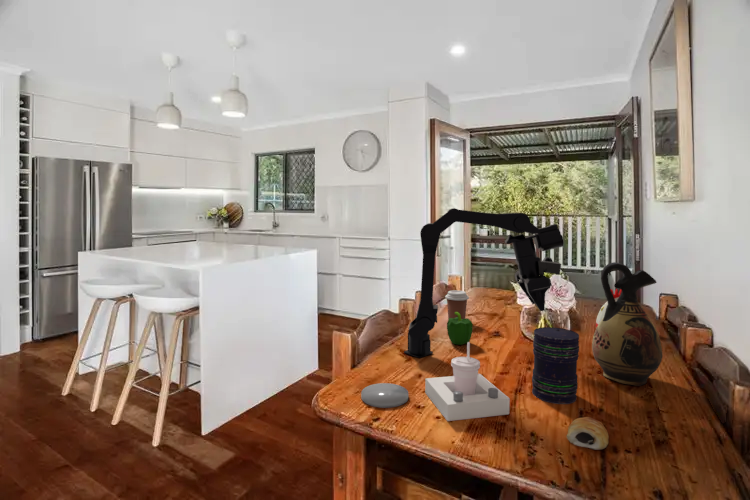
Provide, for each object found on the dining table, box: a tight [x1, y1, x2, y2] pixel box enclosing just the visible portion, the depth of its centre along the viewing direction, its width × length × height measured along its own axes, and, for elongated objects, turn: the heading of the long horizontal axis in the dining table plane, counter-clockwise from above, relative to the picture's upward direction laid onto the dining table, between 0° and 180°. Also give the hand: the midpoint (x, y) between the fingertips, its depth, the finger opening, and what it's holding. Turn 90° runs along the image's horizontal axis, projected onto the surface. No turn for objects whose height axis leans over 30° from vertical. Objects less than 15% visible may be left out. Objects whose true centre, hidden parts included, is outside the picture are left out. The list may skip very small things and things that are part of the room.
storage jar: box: [531, 326, 580, 405], centre depth 97 cm, size 10×10×15 cm
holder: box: [424, 373, 511, 422], centre depth 94 cm, size 14×14×5 cm
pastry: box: [566, 416, 610, 451], centre depth 79 cm, size 9×7×4 cm
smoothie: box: [450, 341, 481, 396], centre depth 93 cm, size 6×6×14 cm
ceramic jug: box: [591, 261, 664, 387], centre depth 107 cm, size 17×15×30 cm
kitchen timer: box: [595, 288, 622, 328], centre depth 153 cm, size 14×14×15 cm
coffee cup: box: [444, 289, 470, 321], centre depth 164 cm, size 9×9×12 cm
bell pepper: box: [446, 312, 474, 345], centre depth 137 cm, size 8×8×10 cm
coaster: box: [360, 382, 409, 409], centre depth 97 cm, size 11×11×1 cm
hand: (538, 307), depth 121 cm, fingers open, 9 cm apart
